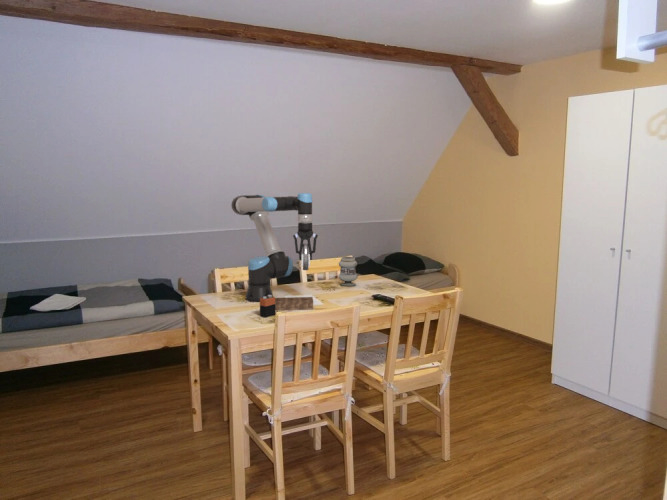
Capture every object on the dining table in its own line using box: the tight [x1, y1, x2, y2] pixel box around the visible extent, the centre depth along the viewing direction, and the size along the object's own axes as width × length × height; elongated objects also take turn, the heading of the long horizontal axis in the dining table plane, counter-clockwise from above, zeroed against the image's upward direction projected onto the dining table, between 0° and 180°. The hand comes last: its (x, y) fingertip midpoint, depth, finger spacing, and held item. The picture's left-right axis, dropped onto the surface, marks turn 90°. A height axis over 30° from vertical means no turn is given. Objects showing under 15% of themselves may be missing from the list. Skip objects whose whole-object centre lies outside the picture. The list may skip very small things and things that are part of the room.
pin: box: [302, 242, 310, 271], centre depth 265 cm, size 3×3×14 cm
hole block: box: [275, 296, 314, 311], centre depth 259 cm, size 24×9×4 cm, turn 95°
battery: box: [259, 295, 276, 319], centre depth 244 cm, size 4×7×10 cm, turn 140°
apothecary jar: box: [338, 256, 358, 288], centre depth 314 cm, size 12×12×18 cm
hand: (305, 265), depth 266 cm, fingers closed on pin, 3 cm apart
